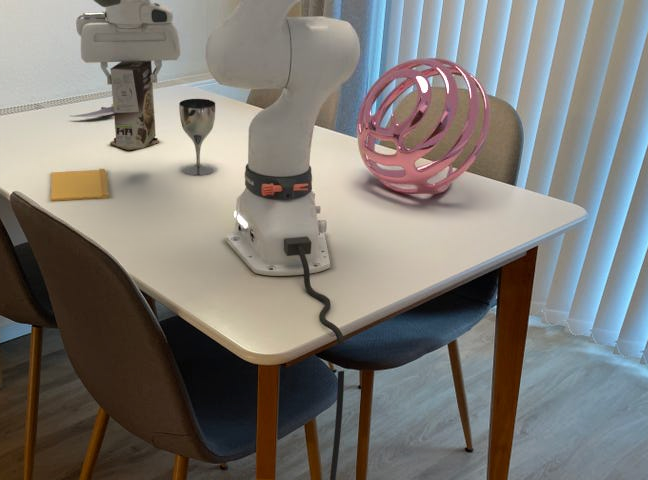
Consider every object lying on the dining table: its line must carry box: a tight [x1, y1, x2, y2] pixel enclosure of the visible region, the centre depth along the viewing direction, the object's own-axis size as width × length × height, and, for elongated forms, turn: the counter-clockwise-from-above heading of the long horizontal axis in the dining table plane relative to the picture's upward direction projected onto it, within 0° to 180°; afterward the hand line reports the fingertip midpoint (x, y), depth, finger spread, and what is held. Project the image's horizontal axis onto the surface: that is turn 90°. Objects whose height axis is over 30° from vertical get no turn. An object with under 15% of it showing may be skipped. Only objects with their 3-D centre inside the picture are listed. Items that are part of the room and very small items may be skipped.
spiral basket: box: [356, 57, 492, 196], centre depth 164 cm, size 28×28×27 cm
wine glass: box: [178, 98, 216, 176], centre depth 173 cm, size 8×8×15 cm
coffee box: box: [110, 61, 156, 149], centre depth 164 cm, size 9×6×16 cm
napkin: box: [50, 168, 110, 202], centre depth 168 cm, size 16×12×1 cm
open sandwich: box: [109, 136, 160, 151], centre depth 192 cm, size 11×8×4 cm
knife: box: [70, 103, 114, 118], centre depth 212 cm, size 8×3×25 cm
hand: (132, 83), depth 161 cm, fingers closed on coffee box, 7 cm apart
